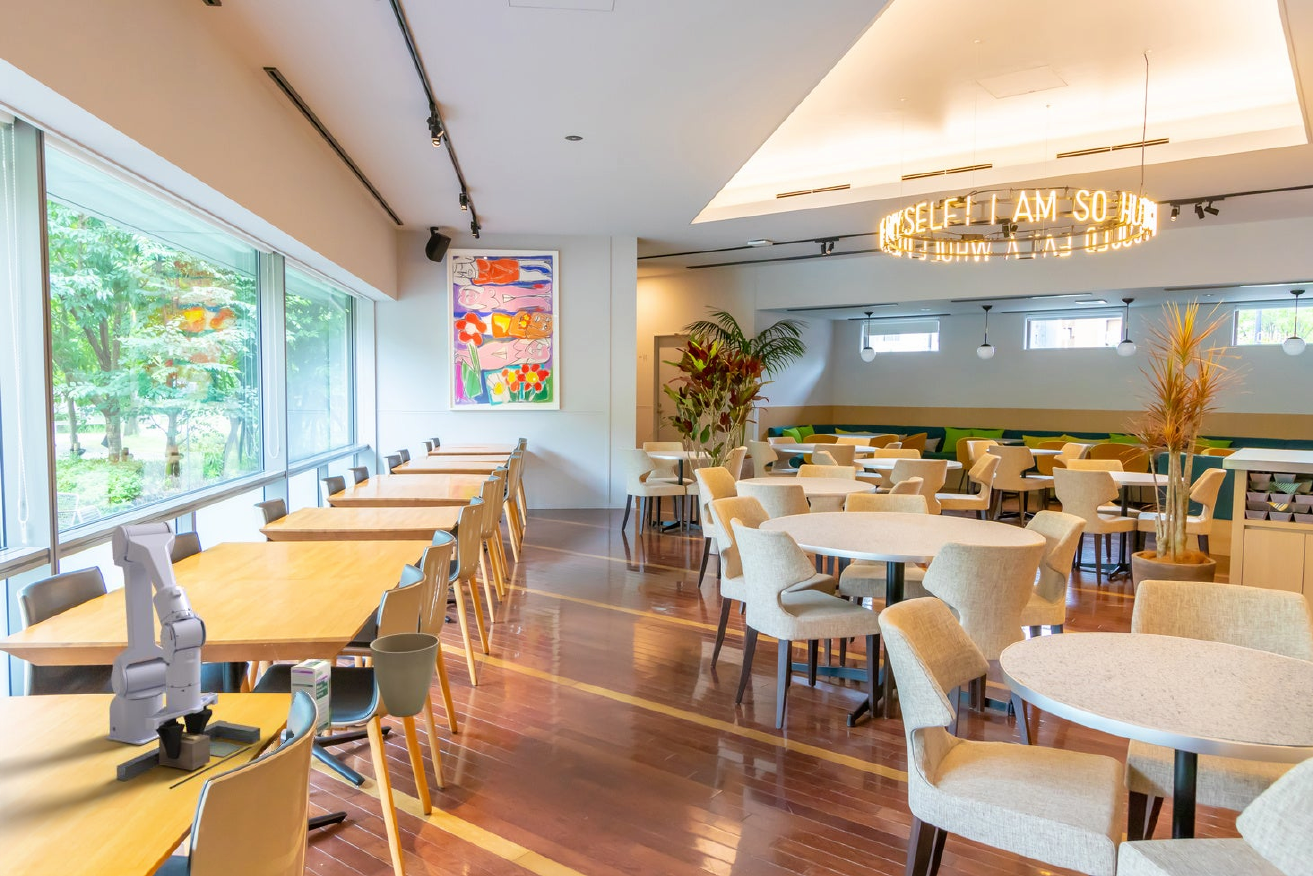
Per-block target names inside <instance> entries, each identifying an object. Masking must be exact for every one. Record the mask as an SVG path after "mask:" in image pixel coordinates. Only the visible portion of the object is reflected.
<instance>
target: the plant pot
mask: <svg viewBox="0 0 1313 876" xmlns="http://www.w3.org/2000/svg"><path fill="white" fill-rule="evenodd" d="M439 644H440V639H439V638H438V637H437V636H436V635H433V634H429V633H423V632H404V633H403V632H402V633H396V634H389V635H386V636H382V637H378V638H376V639H374V640H373V641H372V642H371V643H370V644H369V647H370V656H371V660H372V666H373V671H374V674H375V679H376V682H377V686H378V690H379V693H380V695H381V698H382V701H383V703H384V704H383V705H384V707H385V710H386V711H387V714H388V715H390V716H391V717H393V718H408V717H413V716H416V715H418V714H420V713H422V711H423V709H424V706H425V704H426V701H427V698H428V695H429V692H430V688H431V686H432V685H431V684H432V681H433V676H434V673H435V670H436V669H435V668H436V666H437V665H436V664H437V659H438V653H439V652H438V651H439V646H440V645H439Z"/></svg>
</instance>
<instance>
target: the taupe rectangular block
mask: <svg viewBox="0 0 1313 876" xmlns="http://www.w3.org/2000/svg"><path fill="white" fill-rule="evenodd" d="M158 747H159V764H160V765H163V766H168V767H173V768H178V769H183V770H189V771H194V770H196V769H198V768H201V767H203V766H205V765H207V764H208V763H210V762H211V755H210V736H207V735H201V734H195V733H190V732H186V731H184V730H183V732H182V736H181V743H180V755H179V758H178V759H171V758H168V757H167V753H166V750H165V747H164V744H163V742H162V740H161V738H160V737H158Z"/></svg>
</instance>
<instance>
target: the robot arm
mask: <svg viewBox="0 0 1313 876" xmlns="http://www.w3.org/2000/svg"><path fill="white" fill-rule="evenodd" d="M175 542H176V534H175V529H174V527H173V525H172V524H171V523H170V522H169V521H163V522H156V523H154V522H152V523H144V524H143V523H142V524H131V525H118V526H117V527H115V529H114V531H113V533H112V537H111V547H112V548H111V549H112V552H111V553H112V559H113V564H114V566H116V567H120V568H122V573H123V579H124V580H123V581H124V599H125V612H126V613H125V614H126V615H125V616H126V632H127V647H125V649H123V651H122V652H120V653H119V654H118V655H117V656H116V657H114V659H113V660H112V661H113V662H112V672H111V680H110V681H111V686H112V690H113V693H114V694H115V696H114V697H113V698H112V699H111V701H110V705H109V734H108V735H106V736H105V739H106V740H111V741H117V742H122V743H127V744H132V745H139V746H141V745H144V744H147V743H149V742H152V741H154V740H156V739H159V738H161V740H162V742H163V744H164V747H165V750H166V753H167V757H168V758H171V759H178V758H179V755H180V743H181V736H182V732H183V731H184V730H185V729H186V730H185V732H190V733H195V734H201V735H203V732H204V729H205V727H206V726H207V725H208V723H209V721H210V720H211V717H213V709H211V708H208V706H211V705H212V706H215V705H217V704H218V703H219V693H215V692H208V693H204V694H201V688H202V686H201V685H202V684H201V673H202V671H201V669H202V667H201V664H202V663H201V659H202V658H201V653H202V651H201V647H204V646H205V644H206V641H207V628H206V624H205V621H204V619H203V618H202V617H201V616H200V615H199V613H198V612H194V610H193V607H192V604H191V602H190V599H189V598H190V597H189V595H188V594H187V590H186V589H185V587H183V586H181V585H178V584H177V580H176V576H175V575H176V574H175V572H174V567H173V563H172V559H171V555H172V553H173V550H174V545H175ZM153 587H154V589H155V591H156V593H155V594H154V596H153ZM154 610H155V611H156V614H157V617H158V620H159V623H160V624H159V625H160V626H161V630H160V634H159V640H160V644H161V645H160V644H157V642H156V631H155V630H156V629H155V613H154V612H155V611H154ZM164 693H165V706H164ZM182 717H183V720H184V723H179V721H178V719H179V718H182Z"/></svg>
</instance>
